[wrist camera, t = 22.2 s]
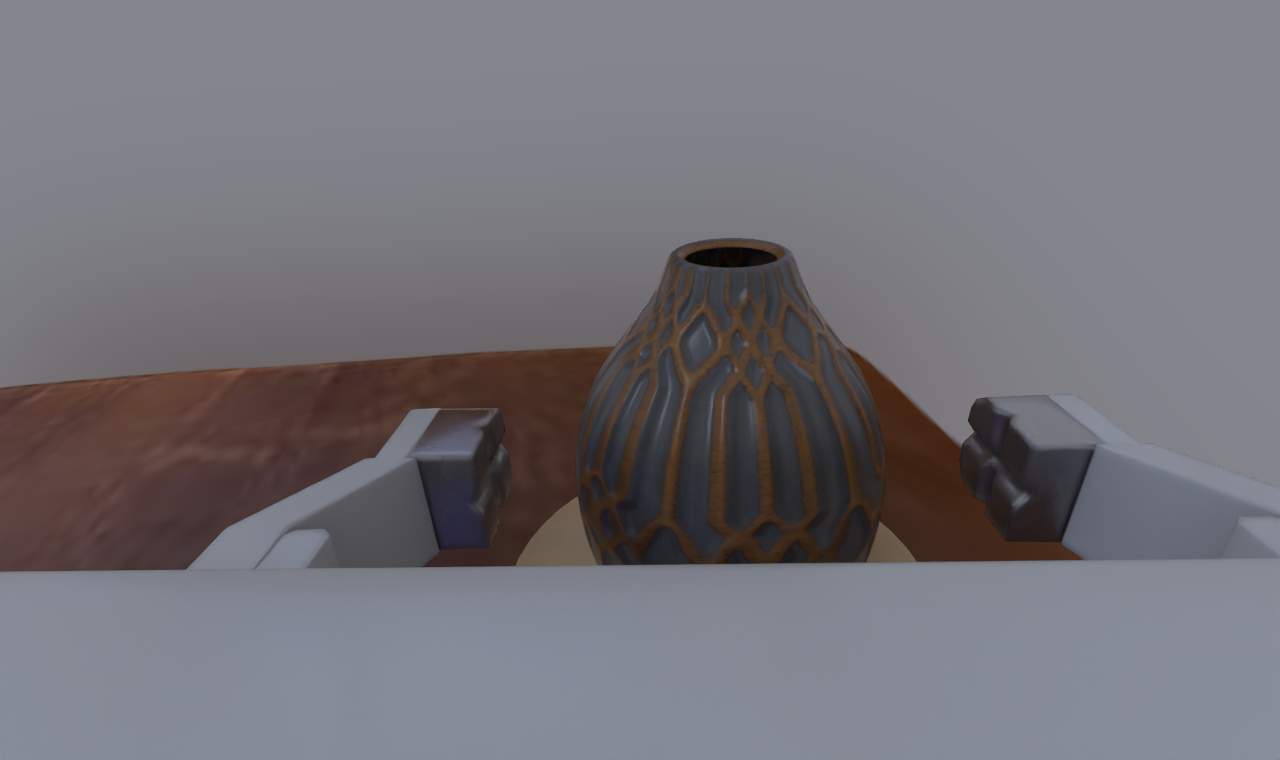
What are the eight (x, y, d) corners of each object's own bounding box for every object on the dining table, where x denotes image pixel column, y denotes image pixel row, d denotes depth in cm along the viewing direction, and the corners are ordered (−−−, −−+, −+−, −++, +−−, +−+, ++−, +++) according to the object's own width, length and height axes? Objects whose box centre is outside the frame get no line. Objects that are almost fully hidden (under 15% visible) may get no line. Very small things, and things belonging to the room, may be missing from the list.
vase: (590, 509, 19) (561, 223, 15) (811, 493, 19) (841, 207, 15) (586, 723, 12) (536, 330, 8) (914, 694, 13) (1013, 300, 9)
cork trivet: (419, 764, 12) (414, 749, 12) (577, 460, 22) (576, 448, 22) (1010, 884, 10) (1017, 868, 10) (899, 488, 20) (901, 475, 20)
